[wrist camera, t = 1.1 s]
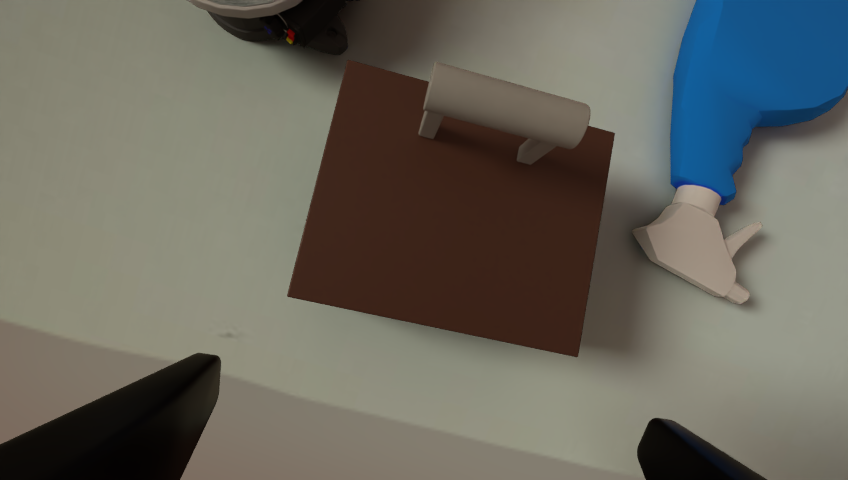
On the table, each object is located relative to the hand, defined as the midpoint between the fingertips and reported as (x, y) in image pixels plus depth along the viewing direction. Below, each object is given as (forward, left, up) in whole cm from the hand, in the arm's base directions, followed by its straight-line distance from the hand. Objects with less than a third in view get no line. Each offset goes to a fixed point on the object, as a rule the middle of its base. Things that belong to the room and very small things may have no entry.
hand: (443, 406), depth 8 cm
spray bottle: (+14, -21, -14) cm, 29 cm away
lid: (+6, -2, -9) cm, 11 cm away
